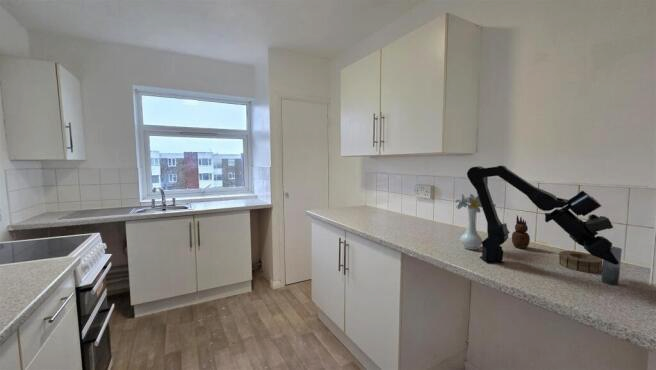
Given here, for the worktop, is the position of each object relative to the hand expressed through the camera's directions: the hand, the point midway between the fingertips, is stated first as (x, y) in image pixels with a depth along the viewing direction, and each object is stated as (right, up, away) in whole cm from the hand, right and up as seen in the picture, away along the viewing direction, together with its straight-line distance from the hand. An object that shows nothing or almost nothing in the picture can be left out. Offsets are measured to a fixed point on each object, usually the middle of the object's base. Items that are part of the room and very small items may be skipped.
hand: (610, 259), depth 93 cm
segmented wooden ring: (+3, -7, +15) cm, 16 cm away
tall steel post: (0, -8, +1) cm, 8 cm away
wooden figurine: (-5, -5, +37) cm, 37 cm away
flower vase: (-27, -5, +38) cm, 47 cm away
